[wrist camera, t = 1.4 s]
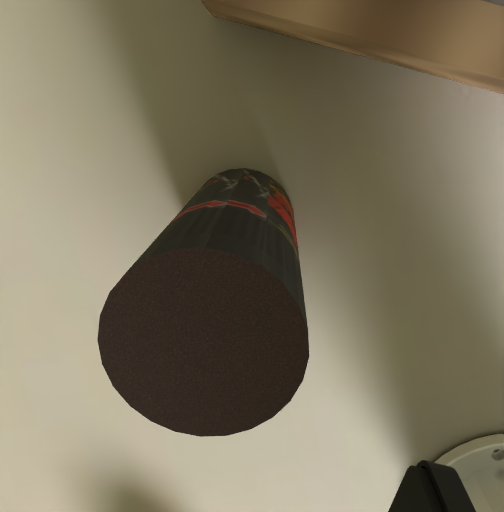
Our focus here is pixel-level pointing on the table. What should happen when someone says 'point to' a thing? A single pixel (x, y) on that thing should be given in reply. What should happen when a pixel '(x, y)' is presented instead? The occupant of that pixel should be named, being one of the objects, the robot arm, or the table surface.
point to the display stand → (392, 31)
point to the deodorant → (212, 313)
